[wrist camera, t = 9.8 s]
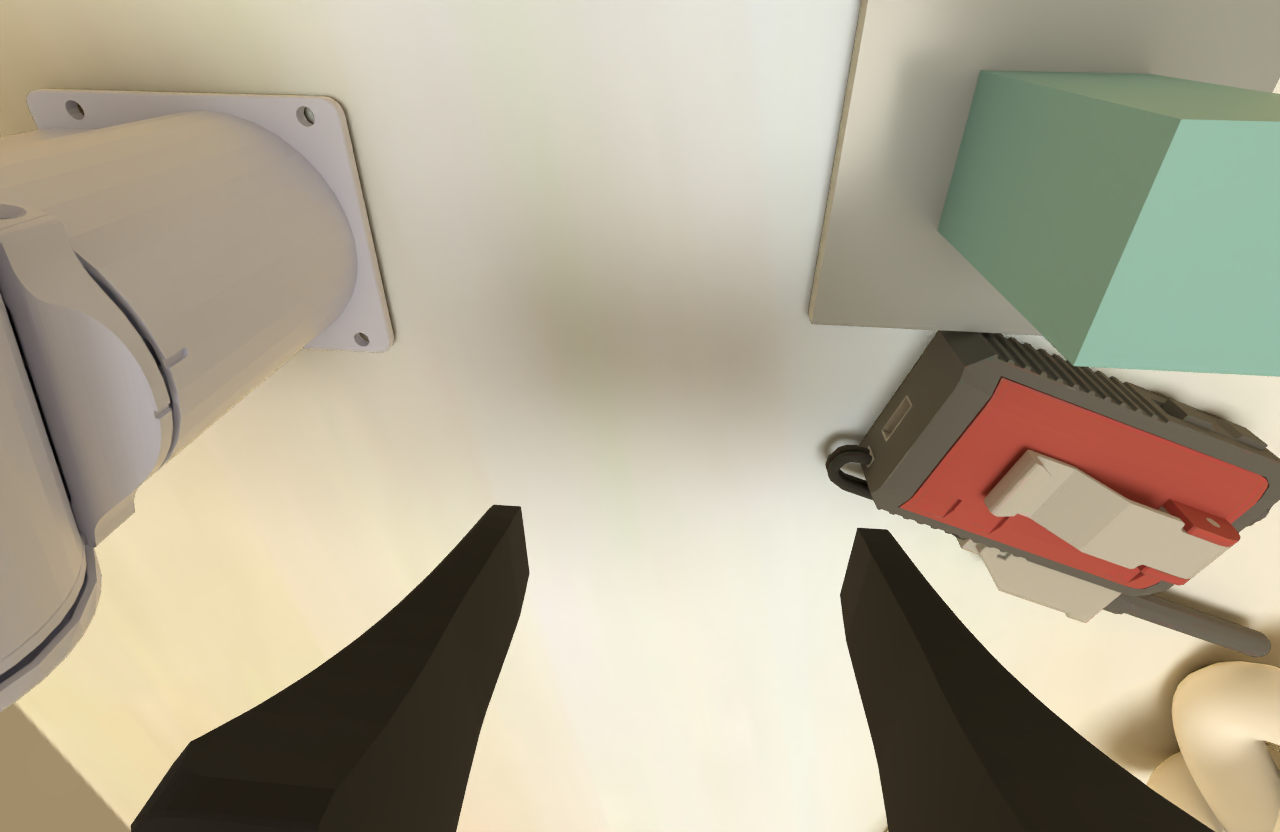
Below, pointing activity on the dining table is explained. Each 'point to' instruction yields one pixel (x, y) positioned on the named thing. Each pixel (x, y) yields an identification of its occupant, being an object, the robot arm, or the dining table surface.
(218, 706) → the dining table surface
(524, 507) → the dining table surface
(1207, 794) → the cream rounded sculpture
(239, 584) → the dining table surface
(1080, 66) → the ceramic tile
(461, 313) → the dining table surface
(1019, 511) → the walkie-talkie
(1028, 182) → the green block
